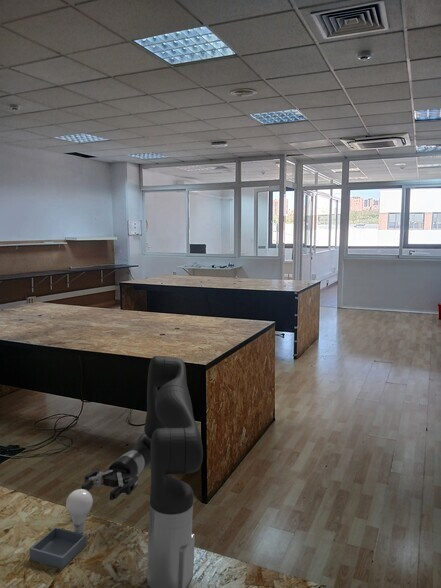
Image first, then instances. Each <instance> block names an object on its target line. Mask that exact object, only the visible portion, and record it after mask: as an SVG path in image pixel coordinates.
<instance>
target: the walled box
mask: <svg viewBox="0 0 441 588" xmlns="http://www.w3.org/2000/svg"><path fill="white" fill-rule="evenodd" d="M86 546H87V534H85V533H84V534H83V533H77V532H73V530H69V529H64V528H60V527H58V526H55V527H53V528H52V529H51V530H50V531H49V532H47V533H46V534H45V535H44V536H42V537H41V538H40V539H38V541H37V542H36V543H34V544H33V545H32V546H31V547H30V548H29V560H30V561H33V562H37V563H40V564H42V565H43V564H44V565H47V566H51V567H53V568H58V569H60V570H63V569H64V568H65V567H67V566H68V564H70V563H71V561H72V560H73V559H75V557H76V556H77V555H78V554H80V552H81V551H82V550H83V549H84V548H85V547H86Z"/></svg>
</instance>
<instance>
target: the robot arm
mask: <svg viewBox="0 0 441 588" xmlns="http://www.w3.org/2000/svg"><path fill="white" fill-rule="evenodd" d="M185 363H186V362H185V361H184V360H183V359H182V358H180V357H174V356H164V355H163V356H162V355H155V356H153V357H151V359H150V362H149V366H148V374H147V385H146V386H147V387H146V388H147V390H146V391H147V392H146V416H145V422H144V428H143V431H144V433H142V434H141V435H140V436H139V437H138V438H137V441H136V444H135V445H134V446H133V448H131V449H130V450H129V451H127V452H125V453H124V454H122V455H121V456H119V457H118V458H117V459H116V460H114V461H113V462H112V463H111V464H110V466H109V468H108V469H107V470H103V471H100V468H98V467H97V468H95V469H93V470H92V471H90V472H88V473H87V474H85V475H84V479H83V481H84V483H83V484H82V485H81V487H80V489H85V490H87V491H88V492H90V490H91V489H92V488H96V487H97V488H101V487H111V488H113V489H112V490H110V492H109V501H114V500H116V499H118V498H119V497H120V496H121V495H124V494H125V495H126V496H129V495H131V494H132V493H133V492H134V491H135V489H136V488H137V487H138V486H139V475H140V474H141V472H142V471H143V470H144V469H145V468H146V467H147V466H148V465H149V464H150V495H149V496H150V497H149V516H148V519H149V521H148V541H147V542H148V544H147V546H148V547H147V569H146V573H147V574H146V582H147V586H148V587H149V588H187V587H188V585H189V583H190V582H191V580H192V578H193V576H194V565H195V563H194V562H195V541H196V540H195V539H196V538H195V537H196V535H195V533H193V532H192V531H193V518H194V517H193V513H194V490H193V488H192V487H191V485H189V484H188V483H187V482H185V481H183V480H180V479H177V478H174V477H172V476H170V475H183V474H185V475H187V474H192V473H193V474H194V473H196V472H198V470H200V468H201V466H202V464H203V459H204V449H203V442H202V437H201V434H200V430H199V428H198V426H197V422H196V420H195V416H194V411H193V404H192V400H191V396H190V391H189V388H188V383H187V382H188V380H187V369H186V367H187V366H186V364H185ZM158 388H159V390H158ZM101 480H102V481H101ZM94 481H96V482H94Z"/></svg>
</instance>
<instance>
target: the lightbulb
mask: <svg viewBox="0 0 441 588" xmlns="http://www.w3.org/2000/svg"><path fill="white" fill-rule="evenodd" d="M93 503H94V499H93V496H92V494H91V492H90V491H87V490H85V489H81V488H80V489H79V488H78V489H75V490H73V491H72V492H70V493H69V495H68V496H67V498H66V501H65V507H66V508H65V509H66V511H67V513H68V514H69V516H70V518H71V521H72V524H73V527H72V528H73V529H72V531H73V532H77V533H81V534H83V533H84V532H85V526H86V525H85V523H86V520H87V516H88V514H89V513H90V512H91V509H92V508H93Z"/></svg>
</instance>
